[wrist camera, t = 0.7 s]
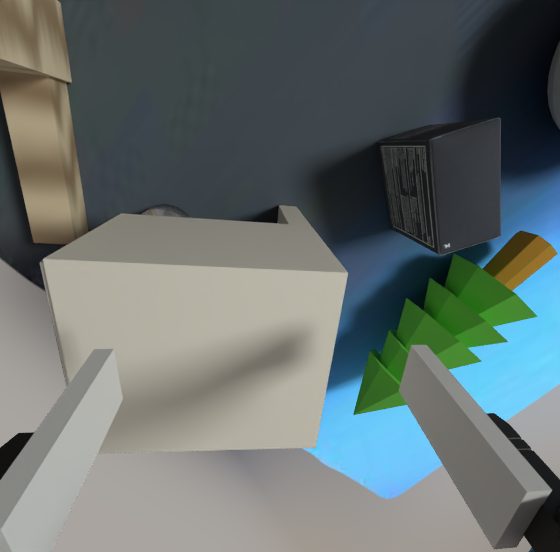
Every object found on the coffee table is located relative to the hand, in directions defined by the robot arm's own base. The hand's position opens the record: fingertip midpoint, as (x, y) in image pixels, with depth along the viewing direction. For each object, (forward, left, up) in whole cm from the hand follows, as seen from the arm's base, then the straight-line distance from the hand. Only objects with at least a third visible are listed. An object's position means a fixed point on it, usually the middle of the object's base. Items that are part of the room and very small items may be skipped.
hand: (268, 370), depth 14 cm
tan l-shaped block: (-9, -20, -25) cm, 33 cm away
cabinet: (+4, -4, -25) cm, 25 cm away
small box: (-7, +18, -25) cm, 31 cm away
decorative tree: (+10, +23, -25) cm, 35 cm away
